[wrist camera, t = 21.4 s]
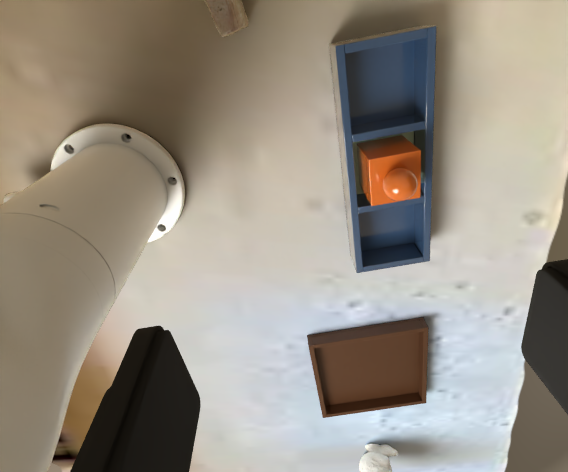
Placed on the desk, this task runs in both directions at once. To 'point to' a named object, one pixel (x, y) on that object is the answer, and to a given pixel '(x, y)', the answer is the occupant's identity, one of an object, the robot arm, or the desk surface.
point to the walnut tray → (370, 367)
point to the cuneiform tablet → (228, 15)
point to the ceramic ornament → (389, 170)
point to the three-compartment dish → (382, 124)
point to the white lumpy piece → (377, 458)
